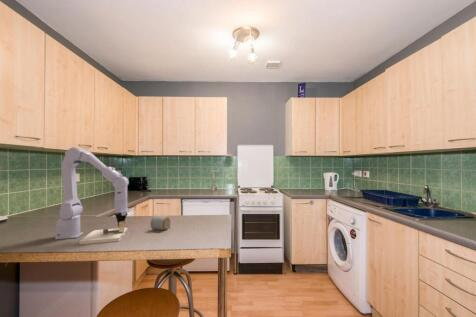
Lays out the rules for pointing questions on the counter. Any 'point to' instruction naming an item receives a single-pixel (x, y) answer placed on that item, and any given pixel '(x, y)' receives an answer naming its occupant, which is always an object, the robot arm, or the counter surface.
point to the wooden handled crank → (121, 229)
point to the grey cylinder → (160, 222)
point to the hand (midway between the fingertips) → (121, 227)
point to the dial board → (102, 236)
